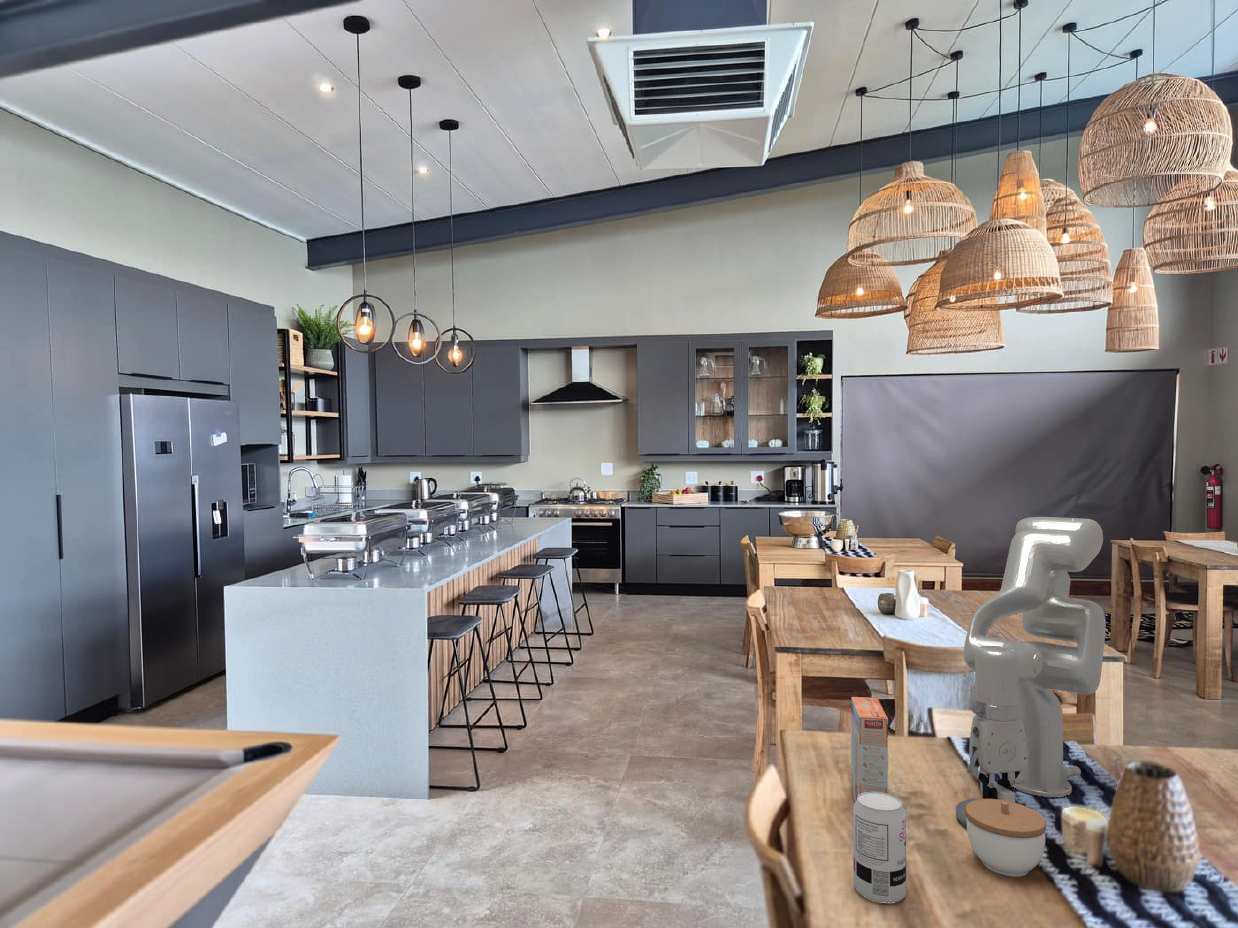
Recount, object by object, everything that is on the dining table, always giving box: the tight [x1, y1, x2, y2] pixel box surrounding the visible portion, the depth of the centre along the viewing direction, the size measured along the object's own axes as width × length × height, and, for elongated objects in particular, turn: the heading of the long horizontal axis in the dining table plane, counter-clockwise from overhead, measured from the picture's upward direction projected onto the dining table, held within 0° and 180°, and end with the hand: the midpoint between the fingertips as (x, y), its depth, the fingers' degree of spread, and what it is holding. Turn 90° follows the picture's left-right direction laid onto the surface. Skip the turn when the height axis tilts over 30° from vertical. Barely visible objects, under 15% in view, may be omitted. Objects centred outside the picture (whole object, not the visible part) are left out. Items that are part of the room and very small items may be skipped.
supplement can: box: [852, 792, 907, 903], centre depth 123 cm, size 8×8×15 cm
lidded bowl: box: [966, 798, 1047, 878], centre depth 131 cm, size 13×13×11 cm
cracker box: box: [850, 696, 889, 803], centre depth 154 cm, size 14×6×21 cm, turn 168°
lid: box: [955, 781, 1016, 827], centre depth 146 cm, size 15×15×6 cm
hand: (997, 803), depth 147 cm, fingers open, 2 cm apart
